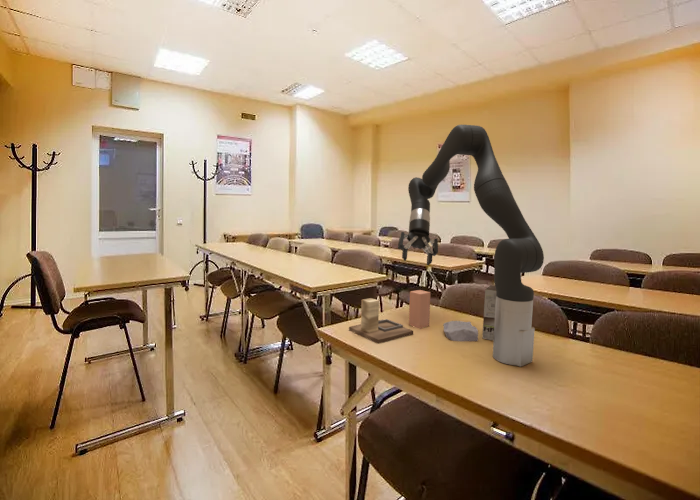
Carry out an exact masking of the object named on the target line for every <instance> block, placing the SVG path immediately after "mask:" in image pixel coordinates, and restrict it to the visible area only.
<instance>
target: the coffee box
mask: <svg viewBox="0 0 700 500" xmlns="http://www.w3.org/2000/svg"><path fill="white" fill-rule="evenodd" d="M495 307H496V287H495V284H490V285H489V286H488V287H487V288H485V289H484V305H483V321H482V324H483V325H482V334H481V335H482V339H484V340H489V341H494V324H495Z"/></svg>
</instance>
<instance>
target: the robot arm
mask: <svg viewBox="0 0 700 500" xmlns="http://www.w3.org/2000/svg"><path fill="white" fill-rule="evenodd" d="M456 155H457V156H458V155H461V156H471V157H472V158H473V159H474V161H475V164H476V166H477V172H476V174H475V175H476V176H475V178H474V181H473V182H474V183H473V191H474V194H475V196H476V199H477V202H478V204H479V207H480V208H481V210H482V211H483V212H484V213H485V214H486V215H487V216H488V217H489V218H490V219H491V220H492V221H494V222H495V223H496V224H497V225H498V226H499V227H500V228H501V229H502V230H503V231H504V233H505V235H506V236H507V238H504V239H501V240H500V241H499V242H498V243H497V245H496V248H495V250H494V251H495V252H494V257H493V258H494V259H493V260H494V262H493V264H494V265H493V267H494V271H493V273H494V275H493V278H494V279H493V281H494V286H495V287H496V307H495V324H494V341H493V340H492V341H493V342H492V343H493V347H492V357H493V359H495V361H496V362H497V361H498V362H499V363H502V364H506V365H510V366H518V367H524V366H526V365H528V364H531V363H532V362H533V359H534V358H533V356H534V344H535V343H534V342H535V330H536V329H535V327H534V326H532V321H533V309H534V307H533V306H534V294H535V293H534V289H533V288H532V287H530V286H528V285H525V284H524V283H523V282H522V274H523V273H526V274H527V273H533V272H537V271H539V270H540V269H541V268H542V266H543V264H544V261H545V260H544V259H545V257H544V256H545V255H544V250H543V248H542V245H541V243H540V242H539V239H538V238H537V236H536V235H535V234H534V232H533V230H532V228H531V227H530V225H529V224H528V223H527V221H526V219H525V217H524V215H523V213H522V211H521V209H520V206H519V205H518V203H517V200H515V198H514V194H513V193H512V190H511V188H510V185H509V183H508V182H507V180H506V178H505V176H504V175H503V172H502V170H501V167H500V165H499V162H498V160H497V158H496V155H495V152H494V150H493V146H492V143H491V140H490V138H489V134H488V133H487V131H486V129H485V128H484V127H483V126H480V125H475V124H474V125H472V124H456V125H455V126H454V127H453V128H452V129H451V130H450V132H449V133H448V134H447V137H446V138H445V140H444V141H443V144H442V146H441V147H440V150H439V151H438V153H437V155H436V156H435V159H434V160H433V161H432V162H431V163H430V165H429V166H428V167H427V168H426V169H425V171H424V172H423V173H422V177H413V178H412V179H411V180H409V183H408V186H407V187H408V190H407V191H408V195H409V199H410V203H411V206H410V209H411V210H410V216H409V221H408V223H409V224H408V234H407V233H405V232H404V231H401V233H400V234H399V238H398V243H397V249H398V250H402V252H401V253H402V254H401V258H402V259H403V261H404V262H406V261H407V260H408V250H409V249H410V248H411V247H412V248H414V249H419V250H423V252H424V253H426V255H427V256H426V266H430V265H431V264H432V263H433V257H436V256H437V254H438V253H439V243H438V242H439V239H437V238H434V239H433V238H430V227H431V224H430V223H431V215H430V212H431V202H430V200H429V199H432V198H433V197H434V195H435V193H436V190H437V188H438V186H439V185H440V184H441V182H442V181H443V180H445V178H446V177H447V176H448V174H449V173H450V168H451V166H450V165H451V163H450V160H451V159H452V158H453V157H455V156H456ZM404 240H407V241H408V242H407V243H406V244H405V245H404ZM430 245H431V246H430ZM431 247H432V248H431Z"/></svg>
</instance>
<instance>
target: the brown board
mask: <svg viewBox="0 0 700 500" xmlns="http://www.w3.org/2000/svg"><path fill="white" fill-rule="evenodd" d="M380 320H384V319H379V320H378V321H380ZM378 326H379V327H382V328H384V329H386V328H390V327H394V326H396V325H393V324H390V323H388V322H384V323H380V324H378ZM348 331H350V332H352V333H354V334H356V335H359V336H360V337H363V338H365V339H367V340H369V341H372V342H374V343H376V344H377V345H378V344H382V343H385V342H389V341H394V340H398V339H401V338H405V337H408V336H413V335H414V330H413V329H410V328H407V327H405V326H403V328H399V329H395V330H390V331H386V332H384V331H381V330H379V329H378V331H375V332H371V333H368V332H365V331H363V330H361V323H360V324H356V325H351V326H348Z"/></svg>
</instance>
